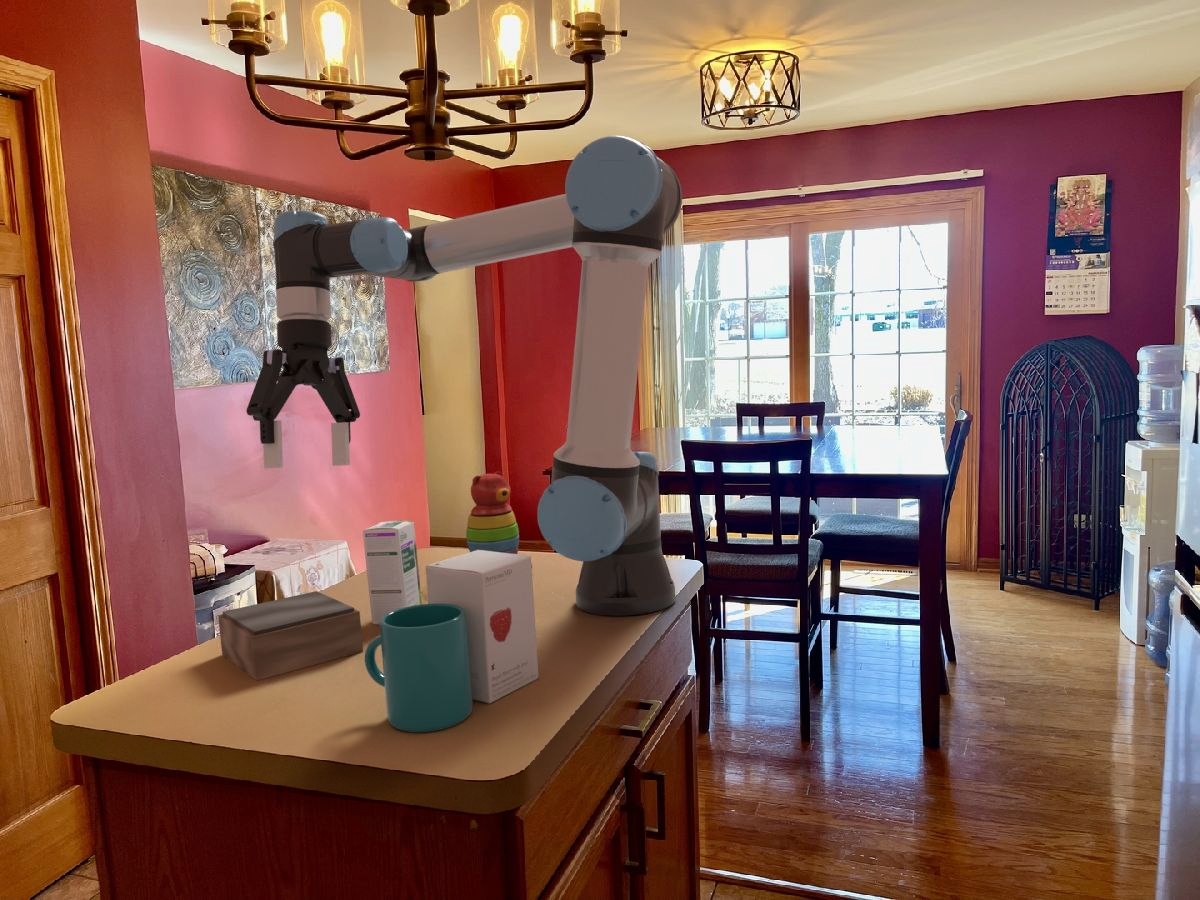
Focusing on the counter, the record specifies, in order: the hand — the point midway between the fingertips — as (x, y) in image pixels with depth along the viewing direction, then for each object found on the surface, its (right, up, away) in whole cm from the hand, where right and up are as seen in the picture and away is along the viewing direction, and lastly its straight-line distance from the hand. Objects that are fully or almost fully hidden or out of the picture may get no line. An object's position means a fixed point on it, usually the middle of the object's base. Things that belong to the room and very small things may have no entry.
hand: (309, 466), depth 127 cm
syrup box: (+12, -23, +4) cm, 26 cm away
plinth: (+1, -25, -9) cm, 27 cm away
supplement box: (+29, -25, -25) cm, 46 cm away
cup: (+23, -26, -33) cm, 48 cm away
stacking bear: (+24, -20, +30) cm, 43 cm away
